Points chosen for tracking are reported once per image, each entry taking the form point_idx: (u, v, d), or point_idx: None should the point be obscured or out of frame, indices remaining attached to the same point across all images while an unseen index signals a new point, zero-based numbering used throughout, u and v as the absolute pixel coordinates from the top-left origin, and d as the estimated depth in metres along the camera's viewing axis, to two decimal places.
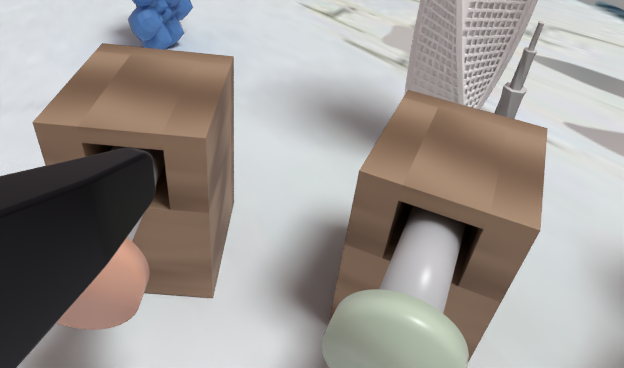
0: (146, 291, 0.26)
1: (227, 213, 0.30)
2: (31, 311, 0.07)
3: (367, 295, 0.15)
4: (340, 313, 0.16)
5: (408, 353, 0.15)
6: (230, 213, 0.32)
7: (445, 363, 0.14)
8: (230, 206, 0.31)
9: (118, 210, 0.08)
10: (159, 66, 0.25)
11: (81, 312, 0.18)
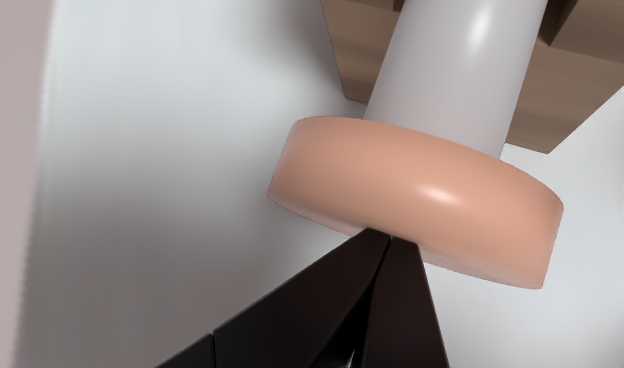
0: None
1: None
2: None
3: None
4: None
5: None
6: None
7: None
8: None
9: None
10: None
11: None
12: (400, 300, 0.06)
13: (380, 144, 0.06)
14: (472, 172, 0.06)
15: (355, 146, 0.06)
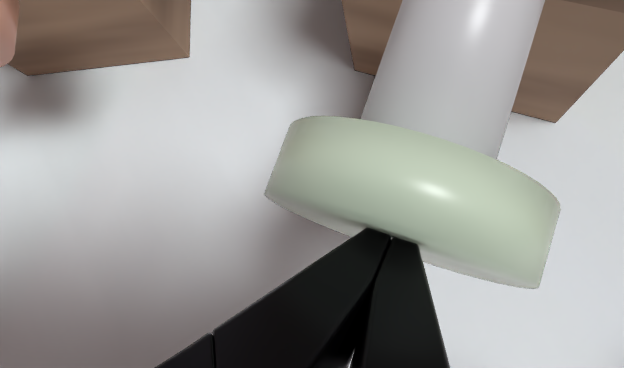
0: (102, 65, 0.19)
1: None
2: None
3: (320, 130, 0.07)
4: (278, 166, 0.08)
5: (419, 241, 0.07)
6: None
7: (498, 266, 0.06)
8: None
9: None
10: None
11: None
12: (400, 300, 0.06)
13: None
14: None
15: None
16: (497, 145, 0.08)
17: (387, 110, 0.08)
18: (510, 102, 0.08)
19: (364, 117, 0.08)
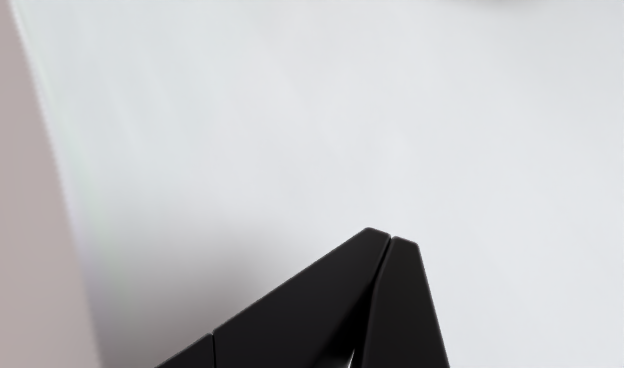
0: None
1: None
2: None
3: None
4: None
5: None
6: None
7: None
8: None
9: None
10: None
11: None
12: (400, 300, 0.06)
13: None
14: None
15: None
16: None
17: None
18: None
19: None
